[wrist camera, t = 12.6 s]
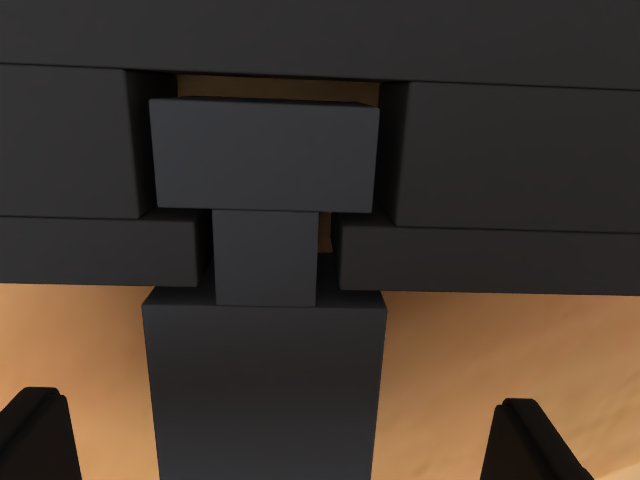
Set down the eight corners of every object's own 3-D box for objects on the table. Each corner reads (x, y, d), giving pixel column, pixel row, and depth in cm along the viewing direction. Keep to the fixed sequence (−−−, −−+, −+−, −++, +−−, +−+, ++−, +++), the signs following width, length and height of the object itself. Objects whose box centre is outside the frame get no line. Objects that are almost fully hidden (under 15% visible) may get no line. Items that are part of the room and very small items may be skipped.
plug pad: (378, 103, 13) (407, 108, 10) (353, 419, 17) (367, 512, 13) (172, 94, 13) (118, 97, 9) (194, 418, 17) (162, 513, 13)
